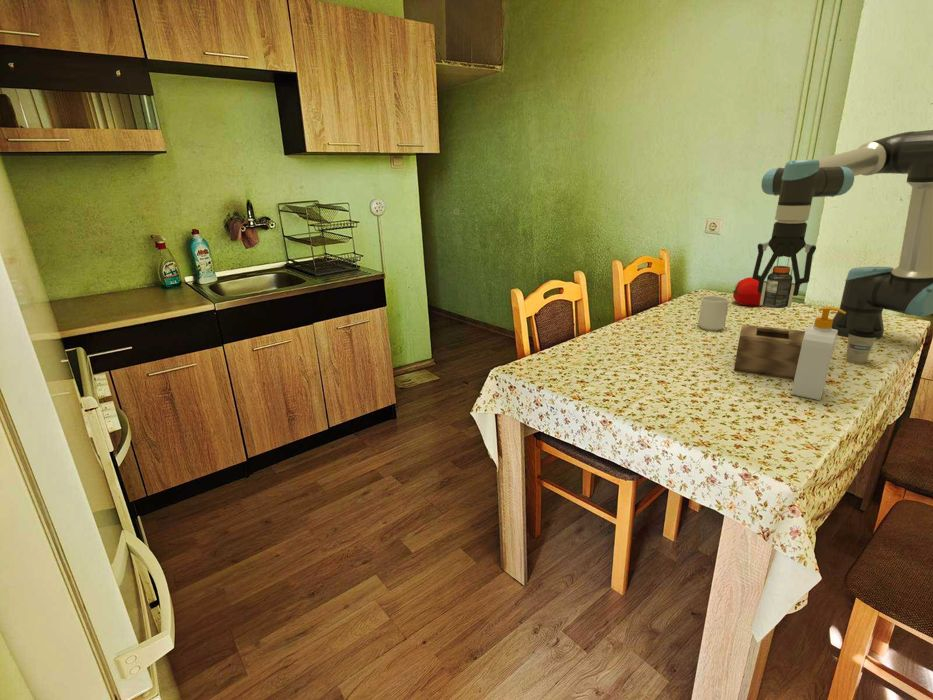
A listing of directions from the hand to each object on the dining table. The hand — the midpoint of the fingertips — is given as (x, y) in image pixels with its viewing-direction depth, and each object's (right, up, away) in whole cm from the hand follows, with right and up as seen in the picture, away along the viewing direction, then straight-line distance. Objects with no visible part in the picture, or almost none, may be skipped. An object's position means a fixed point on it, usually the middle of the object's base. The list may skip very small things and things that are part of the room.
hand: (774, 305), depth 137 cm
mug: (+5, -4, +44) cm, 45 cm away
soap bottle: (+2, -24, -10) cm, 26 cm away
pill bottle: (0, 0, 0) cm, 0 cm away
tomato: (+34, +7, +72) cm, 80 cm away
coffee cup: (+30, -16, +9) cm, 35 cm away
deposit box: (+1, -18, +6) cm, 19 cm away
